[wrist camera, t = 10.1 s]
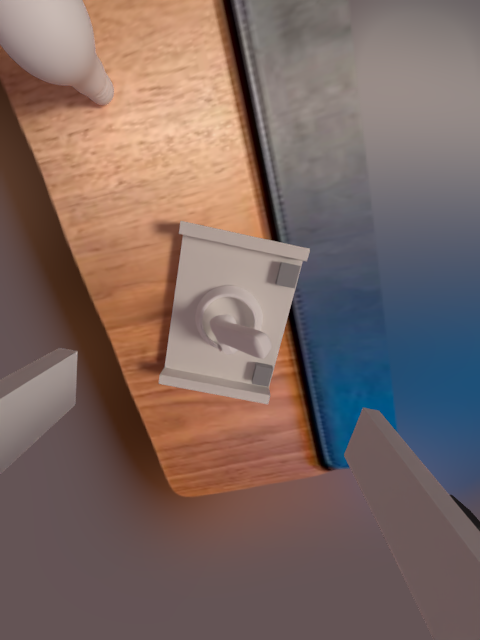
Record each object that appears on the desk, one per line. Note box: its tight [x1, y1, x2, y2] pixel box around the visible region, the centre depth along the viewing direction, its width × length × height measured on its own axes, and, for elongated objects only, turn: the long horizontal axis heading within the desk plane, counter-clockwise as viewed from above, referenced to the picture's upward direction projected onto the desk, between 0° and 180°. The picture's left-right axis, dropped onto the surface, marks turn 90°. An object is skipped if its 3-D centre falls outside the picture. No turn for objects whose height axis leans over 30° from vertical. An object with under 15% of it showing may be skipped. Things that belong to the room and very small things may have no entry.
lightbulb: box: [0, 0, 114, 105], centre depth 19 cm, size 6×6×11 cm
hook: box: [195, 285, 271, 359], centre depth 26 cm, size 8×12×7 cm
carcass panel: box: [159, 221, 310, 404], centre depth 28 cm, size 18×13×3 cm
